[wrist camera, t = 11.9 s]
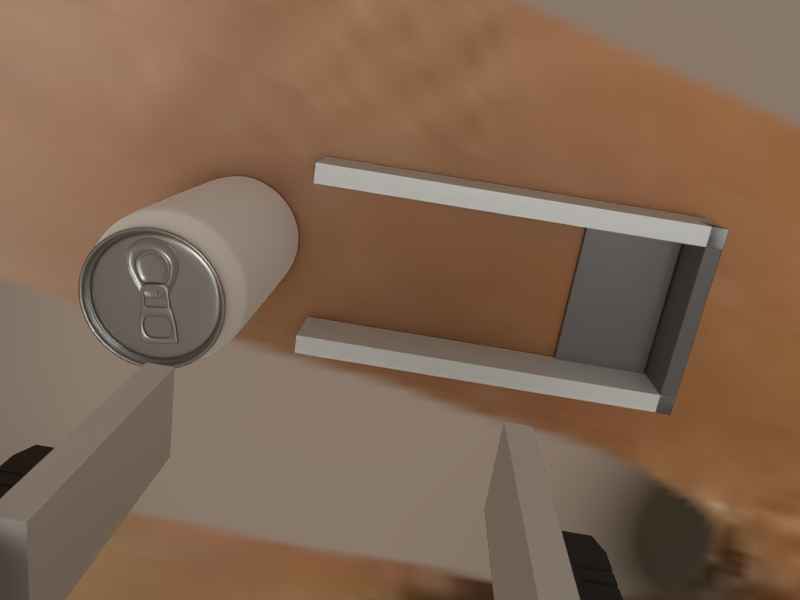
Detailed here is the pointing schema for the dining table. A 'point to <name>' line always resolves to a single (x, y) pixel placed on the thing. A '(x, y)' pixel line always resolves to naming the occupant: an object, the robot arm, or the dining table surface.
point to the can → (187, 271)
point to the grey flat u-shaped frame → (587, 304)
